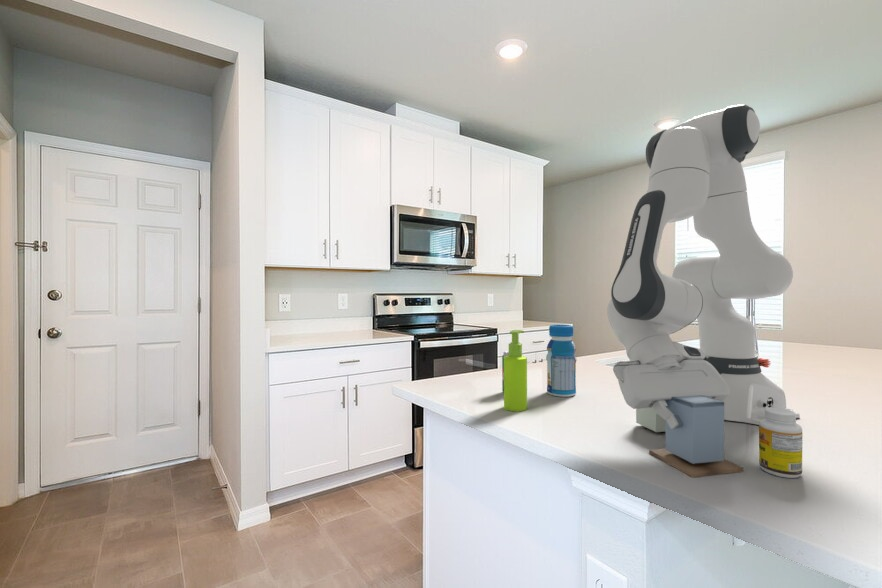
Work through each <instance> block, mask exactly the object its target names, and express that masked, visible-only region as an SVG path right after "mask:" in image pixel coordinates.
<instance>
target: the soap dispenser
mask: <svg viewBox="0 0 882 588" xmlns="http://www.w3.org/2000/svg"><path fill="white" fill-rule="evenodd" d="M524 333H525V331H524V330H521V329H519V330H518V329H514V330H511V331H509V335H511V342H509V343H508V352H509V356H505V357H504V393H503V409H504V410H507V411H510V412H524V411H526V410H528V359H527V357H526V356H523V344H522V343H520V342H519V334H524Z"/></svg>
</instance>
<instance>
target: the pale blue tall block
mask: <svg viewBox="0 0 882 588" xmlns="http://www.w3.org/2000/svg"><path fill="white" fill-rule="evenodd" d="M666 403H667V405H668V406H667V407H666V408H667V409H669V410H670V411H671V412H672V413H673V414H674V415H679V417H680V420H681V421H682V422H683V426H681V427H680V428H676V429H671V428H670V426H669V425H668V423H667V421H666V431H665V447H664V448H665V450H667V451H669V452H671V453H673V454H675V455H677V456H679V457H681V458H683V459H685V460H687V461H689V462H690V463H692V464H695V463H705V462H715V461H724V459H725V420H724V402H722V401H719V400H715V399H712V398H709V397H706V396H702V395H695V396H679V397H672V398H671V400H666Z"/></svg>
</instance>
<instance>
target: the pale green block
mask: <svg viewBox="0 0 882 588" xmlns="http://www.w3.org/2000/svg"><path fill="white" fill-rule="evenodd" d="M635 413H636V414H635V420H636V421H635V423H636V424H638V425H640V426H642V427H644V428H647V430H648V429H649V430H651V431H653V432H655V433H661V432H664V433H665V432H666V420H664V419H663V418H662V417H661V416H659V415H658V414H657V413H655V411H654V409H653V408H639V409H635Z"/></svg>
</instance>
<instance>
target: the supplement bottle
mask: <svg viewBox="0 0 882 588" xmlns="http://www.w3.org/2000/svg"><path fill="white" fill-rule="evenodd" d="M758 449H759V450H758V464H759V467H760V468H761V470H762V471H764V472H766V473H768V474H770V475H772V476H777V477H781V478H787V479H796V478H797V479H798V478H800V477H801V476H802V475H803V428H802V426H801V425H800V424H798V423H797V418H796V414H795V412H792V411H790V410H786V409H780V408H766V409H765V419H762V420H760V422H759V425H758Z"/></svg>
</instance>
